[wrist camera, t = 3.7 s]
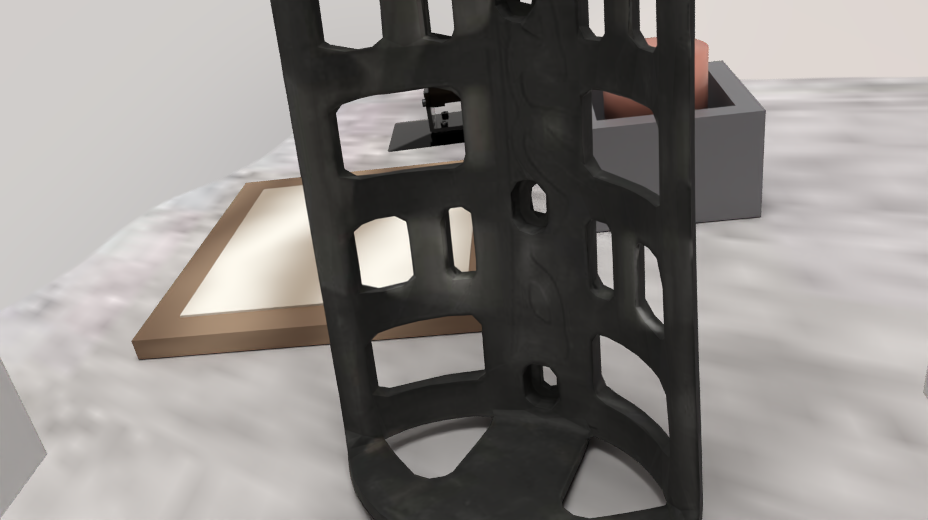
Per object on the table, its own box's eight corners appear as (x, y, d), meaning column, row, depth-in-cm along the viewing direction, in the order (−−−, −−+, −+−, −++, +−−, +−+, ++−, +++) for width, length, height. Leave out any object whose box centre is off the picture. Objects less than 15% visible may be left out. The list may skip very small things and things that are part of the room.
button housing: (721, 152, 44) (722, 60, 41) (760, 216, 37) (765, 110, 34) (571, 167, 45) (564, 78, 42) (582, 233, 38) (575, 130, 35)
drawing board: (508, 170, 45) (506, 153, 45) (506, 329, 31) (503, 307, 31) (250, 197, 47) (245, 181, 46) (138, 359, 33) (130, 338, 32)
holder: (283, 547, 23) (94, -304, 15) (389, 399, 29) (295, -245, 21) (694, 621, 19) (728, -444, 11) (710, 434, 26) (738, -322, 18)
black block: (554, 107, 56) (548, 40, 54) (565, 144, 49) (559, 69, 47) (376, 130, 57) (364, 65, 55) (364, 168, 50) (350, 97, 48)
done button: (696, 92, 41) (697, 32, 39) (718, 124, 36) (719, 58, 35) (599, 103, 41) (596, 44, 40) (609, 135, 37) (606, 71, 35)
